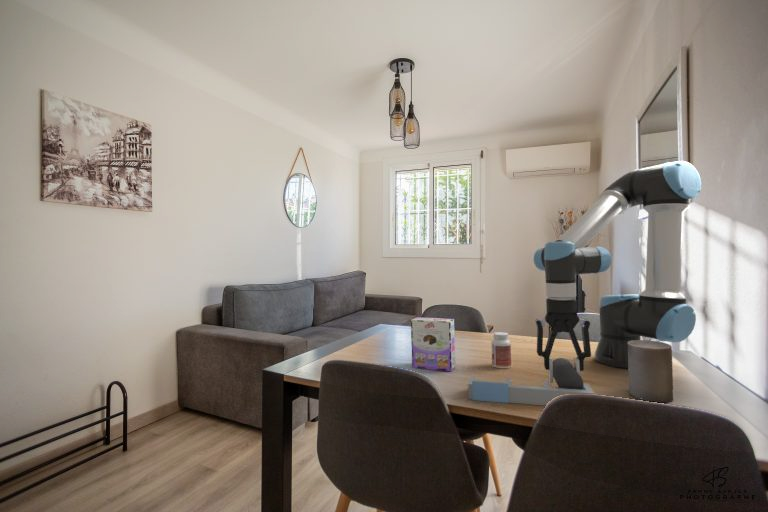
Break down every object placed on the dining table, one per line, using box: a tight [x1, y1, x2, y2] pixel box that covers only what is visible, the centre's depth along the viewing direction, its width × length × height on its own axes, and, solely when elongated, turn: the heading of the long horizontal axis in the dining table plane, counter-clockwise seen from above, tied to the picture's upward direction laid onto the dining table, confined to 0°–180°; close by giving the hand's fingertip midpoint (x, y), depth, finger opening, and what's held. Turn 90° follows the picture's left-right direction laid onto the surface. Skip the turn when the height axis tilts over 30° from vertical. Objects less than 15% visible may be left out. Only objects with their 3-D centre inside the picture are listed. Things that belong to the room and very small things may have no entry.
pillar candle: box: [627, 338, 674, 403], centre depth 100 cm, size 10×10×15 cm
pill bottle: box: [491, 331, 512, 370], centre depth 127 cm, size 6×6×11 cm
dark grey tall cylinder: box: [552, 357, 584, 390], centre depth 102 cm, size 12×6×6 cm, turn 165°
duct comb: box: [468, 375, 596, 406], centre depth 99 cm, size 30×7×5 cm, turn 74°
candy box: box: [410, 316, 456, 372], centre depth 128 cm, size 14×6×16 cm, turn 65°
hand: (564, 381), depth 104 cm, fingers closed on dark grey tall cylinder, 6 cm apart
